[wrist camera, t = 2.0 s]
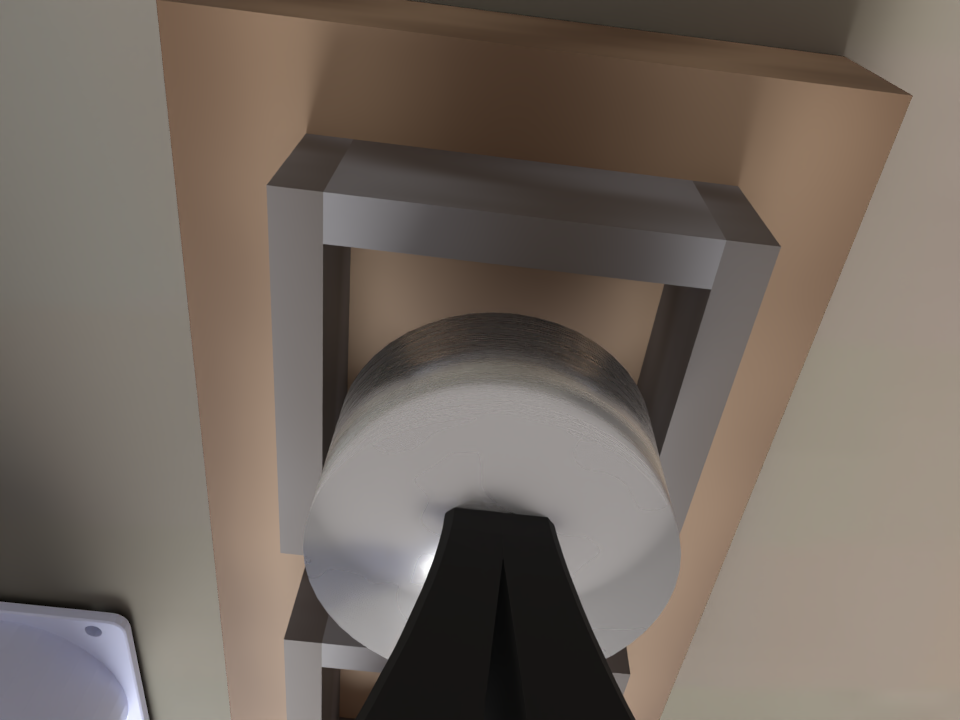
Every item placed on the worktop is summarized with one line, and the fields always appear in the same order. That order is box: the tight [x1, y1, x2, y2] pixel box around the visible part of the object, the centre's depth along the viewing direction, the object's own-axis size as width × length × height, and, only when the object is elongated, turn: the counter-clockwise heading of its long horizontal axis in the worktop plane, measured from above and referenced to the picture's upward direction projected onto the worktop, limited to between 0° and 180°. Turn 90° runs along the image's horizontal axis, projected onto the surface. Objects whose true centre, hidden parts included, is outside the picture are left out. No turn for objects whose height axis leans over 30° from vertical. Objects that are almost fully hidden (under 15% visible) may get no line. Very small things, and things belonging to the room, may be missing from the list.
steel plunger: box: [303, 312, 681, 659], centre depth 11 cm, size 5×5×2 cm
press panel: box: [156, 0, 912, 720], centre depth 18 cm, size 12×21×6 cm, turn 174°
